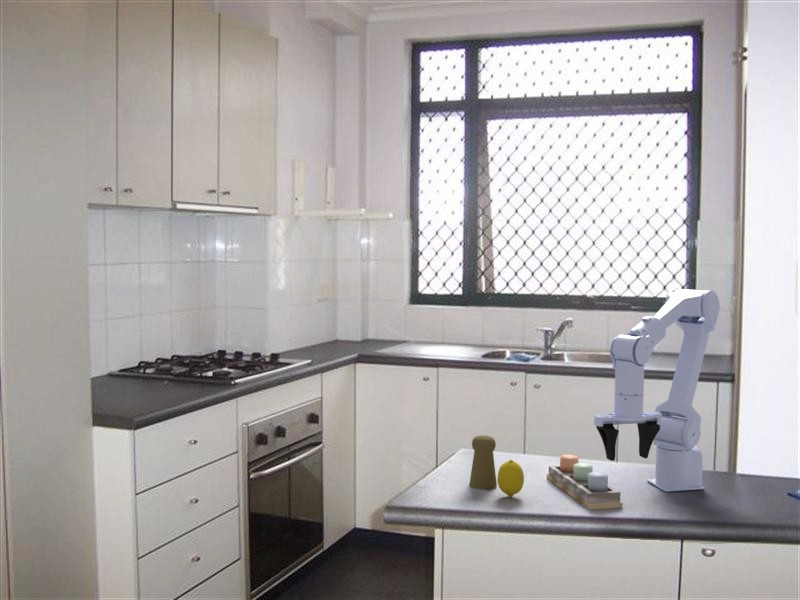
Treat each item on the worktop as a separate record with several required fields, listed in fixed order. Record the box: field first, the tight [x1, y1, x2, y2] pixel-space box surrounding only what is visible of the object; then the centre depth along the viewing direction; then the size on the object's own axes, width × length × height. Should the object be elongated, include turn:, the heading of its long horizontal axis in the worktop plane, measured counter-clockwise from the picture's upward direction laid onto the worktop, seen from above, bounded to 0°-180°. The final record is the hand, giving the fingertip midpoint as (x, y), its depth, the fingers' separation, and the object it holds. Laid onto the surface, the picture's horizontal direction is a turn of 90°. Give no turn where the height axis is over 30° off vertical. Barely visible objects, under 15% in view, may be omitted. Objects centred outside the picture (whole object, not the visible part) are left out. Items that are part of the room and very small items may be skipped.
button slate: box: [588, 471, 609, 492], centre depth 173 cm, size 4×4×3 cm
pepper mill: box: [468, 435, 498, 490], centre depth 184 cm, size 6×6×11 cm
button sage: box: [573, 462, 594, 482], centre depth 180 cm, size 4×4×3 cm
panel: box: [546, 464, 624, 511], centre depth 180 cm, size 22×7×3 cm, turn 13°
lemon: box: [497, 459, 525, 498], centre depth 176 cm, size 6×6×8 cm
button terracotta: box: [559, 454, 580, 473], centre depth 187 cm, size 4×4×3 cm
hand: (627, 458), depth 173 cm, fingers open, 7 cm apart
